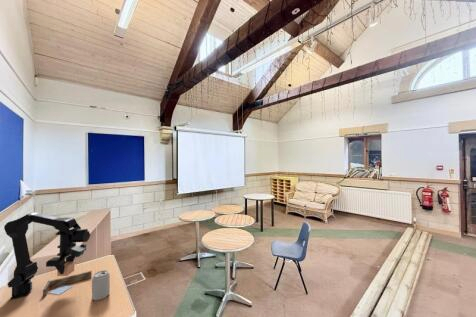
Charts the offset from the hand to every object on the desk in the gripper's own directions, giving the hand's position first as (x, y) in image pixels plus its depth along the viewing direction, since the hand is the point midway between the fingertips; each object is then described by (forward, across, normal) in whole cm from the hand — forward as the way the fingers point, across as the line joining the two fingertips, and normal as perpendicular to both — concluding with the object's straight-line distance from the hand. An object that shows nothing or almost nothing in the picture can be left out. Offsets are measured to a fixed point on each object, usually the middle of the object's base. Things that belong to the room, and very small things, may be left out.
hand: (65, 271), depth 107 cm
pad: (+11, +1, +3) cm, 11 cm away
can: (+10, -7, -22) cm, 26 cm away
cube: (+1, 0, 0) cm, 1 cm away
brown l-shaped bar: (+10, +6, +1) cm, 12 cm away
